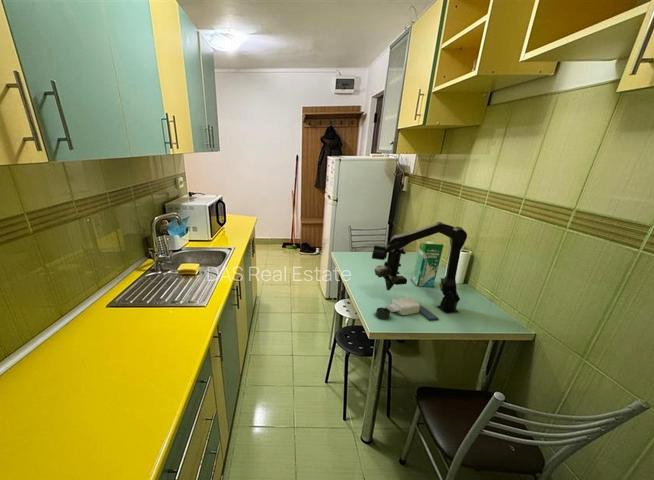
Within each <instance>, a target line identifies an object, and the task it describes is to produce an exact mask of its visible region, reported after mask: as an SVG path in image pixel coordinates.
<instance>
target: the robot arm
mask: <svg viewBox="0 0 654 480" xmlns="http://www.w3.org/2000/svg"><path fill="white" fill-rule="evenodd" d="M435 234H441V235H444V236H446V237H447V238H449V246H450V248H449V255H448V259H447V260H448V261H447V266H446V272H445V276H444V277H443V278H442V277H441V278H440V283H439V285H438V286H439V289H440V291H441V293H442V295H443V296H442V299H441V301H440V305H437V308H439V309H440V310H441V311H443V312H444V313H446V314H450V313H458V312H459V310H457V306H458V303H459V302H460V300H461V298H460V295H459V294H458V291H457V281H456V280H457V279H456V278H457V272H458V267H459V262H460V256H461V251H462V249H463V247H464V245H465V243H466V241H467V238H468V233H467V231H466V230H464V228H462V227H461V226H453V225H450V224H446V223H443V222H442V221H437V222H435V223H433V224H430V225H427V226H425V227H422V228H419V229H416V230H413V231H410V232H406V233H405V232H404V233H398V234H394V235H392V236H391V237H390V240H389V242H388V243H387V244H385V246H384V245H378V244H374V245H373V250H372V255H371V260H379V261H384V260H386V259H387V260H386V261H384V264H383V265H377V266H376V267H375V268H374V274H375V276H377V277H378V278H383V279H384V282H385V287H386V291H391V289H392V288H393V287H394V285H396V286H399V285H400V286H401V285H407V283H408V279H407V278H406V277H405V276H404V275H400V271H399V268H400V267H402V263H401V257H402V255H406V254H407V251H406V250H405V249H404V247H407V245H409V244H411V243H413V242H416V241H418V240H422V239H424V238H427V237H430V236H433V235H435Z"/></svg>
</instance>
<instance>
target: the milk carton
mask: <svg viewBox="0 0 654 480" xmlns="http://www.w3.org/2000/svg"><path fill="white" fill-rule="evenodd" d="M443 249H444V244H443V243H435V241H431V240H429V241H428V240H426V243H425V242H419V247H418V251H417V256H416V259H415V265H414V270H413V273H412V274H413V275H412V279H411V280H412V282H413V283H414V285H415V286H416V287H428V288H429V287H430V288H433V287H434V285H435V282H436V278H437V274H438V269H439V265H440V261H441V257H442V253H443Z"/></svg>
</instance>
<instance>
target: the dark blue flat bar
mask: <svg viewBox="0 0 654 480" xmlns="http://www.w3.org/2000/svg"><path fill="white" fill-rule="evenodd" d="M419 305H420V309H419V312H418V313H419V314H420V315H422V316H423V317H424V318H426V320H428V321H438V320H439V317H437V316H436V315H435V314H433V313H432V312H431V311H429V310H428V309H427V308H425V307H423V305H421V304H420V303H419Z"/></svg>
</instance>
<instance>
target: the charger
mask: <svg viewBox="0 0 654 480" xmlns="http://www.w3.org/2000/svg"><path fill="white" fill-rule="evenodd" d="M419 304H420V303H418V302H417V301H416V300H414V299H412V298H411V297H409V296H405V297H399V298H393V299H391V301H390V304H387V305H386V307H385V308H387V309H389V310H390V313H391V312H392V313H394V312H395V313H397V314H399V315H401V316H407V315H412V314H418V313H419V309H420V305H421V304H420V305H419Z"/></svg>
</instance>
